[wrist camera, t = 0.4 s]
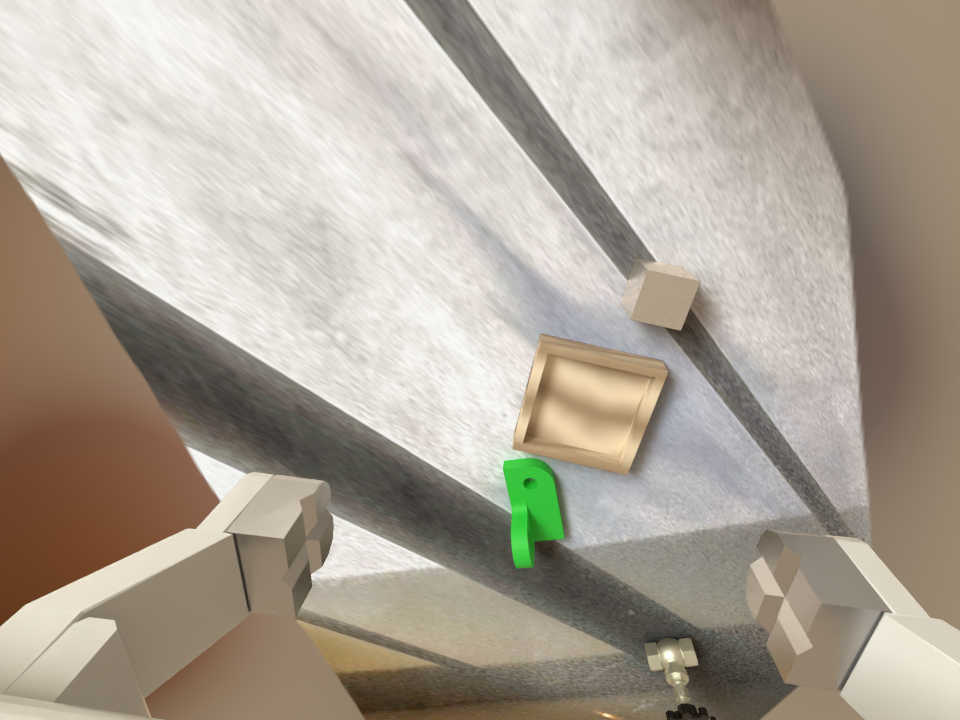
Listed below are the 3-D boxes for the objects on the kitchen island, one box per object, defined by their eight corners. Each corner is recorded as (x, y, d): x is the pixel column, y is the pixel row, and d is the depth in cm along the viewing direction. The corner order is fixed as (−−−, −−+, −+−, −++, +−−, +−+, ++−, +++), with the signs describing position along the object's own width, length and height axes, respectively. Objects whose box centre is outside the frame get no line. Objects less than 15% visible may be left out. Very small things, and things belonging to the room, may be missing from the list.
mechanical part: (563, 528, 65) (566, 575, 58) (520, 531, 66) (518, 578, 59) (550, 454, 61) (552, 495, 54) (504, 460, 62) (499, 500, 55)
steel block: (635, 256, 50) (647, 269, 44) (682, 267, 50) (700, 281, 44) (620, 302, 52) (630, 319, 46) (665, 311, 52) (680, 330, 46)
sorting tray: (540, 333, 54) (541, 343, 52) (661, 360, 54) (668, 371, 51) (513, 435, 60) (512, 448, 57) (623, 460, 60) (627, 475, 57)
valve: (640, 628, 71) (658, 715, 60) (686, 622, 69) (714, 710, 58) (649, 658, 73) (669, 747, 62) (694, 653, 72) (722, 743, 61)
